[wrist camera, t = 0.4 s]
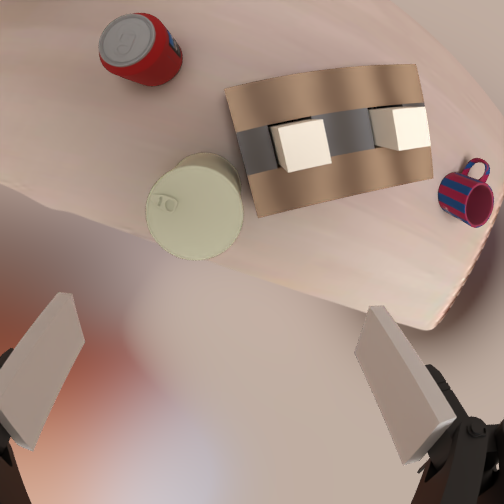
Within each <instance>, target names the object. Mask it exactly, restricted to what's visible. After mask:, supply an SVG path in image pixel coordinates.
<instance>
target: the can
mask: <svg viewBox="0 0 504 504" xmlns="http://www.w3.org/2000/svg"><path fill="white" fill-rule="evenodd" d="M243 216H244V213H243V204H242V200H241V181H240V178H239V175H238V173H237V171H236V169H235V168H234V166H233V165H232V164H231V163H230V162H229V161H228V160H226V159H225V158H223V157H221V156H219V155H216V154H213V153H197V154H193V155H191V156H188V157H186V158H185V159H183V160H182V161H181V162H180V163H179V164H178V165H177V166H176V167H175V168H174V169H173V170H171V171H169V172H167V173H166V174H165V175H163V176H162V177H161V178H160V179H159V180H158V181H157V182H156V183H155V184H154V186H153V187H152V189H151V191H150V193H149V196H148V199H147V202H146V221H147V225H148V228H149V231H150V233H151V235H152V236H153V238H154V239H155V241H156V242H157V243H158V244H159V245H160V246H161V247H162V248H163V249H164V250H165V251H167V252H168V253H170V254H172V255H174V256H176V257H179V258H182V259H187V260H205V259H209V258H212V257H215V256H217V255H219V254H221V253H222V252H224V251H225V250H227V249H228V248H229V247H230V246H231V245H232V244H233V243H234V241H235V240H236V238H237V237H238V235H239V233H240V230H241V227H242V223H243Z"/></svg>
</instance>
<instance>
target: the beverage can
mask: <svg viewBox="0 0 504 504" xmlns="http://www.w3.org/2000/svg"><path fill="white" fill-rule="evenodd" d="M99 56H100V60H101V62H102V64H103V66H104V67H105V68H106V69H107V70H108V71H109V72H111V73H113V74H115V75H118V76H120V77H123V78H126V79H128V80H131V81H134V82H137V83H140V84H143V85H146V86H157V85H161V84H164V83H166V82H168V81H169V80H171V79H172V78H173V77H174V76H175V75H176V74H177V72H178V71H179V69H180V67H181V64H182V51H181V49H180V47H179V45H178V44H177V42H176V41H175V39H174V38H173V37H172V35H171V34H170V33H169V31H168V30H167V29H166V27H165V26H164V25H163V24H162V23H161V21H160V20H159V19H157V18H156V17H155V16H153V15H150V14H146V13H133V14H127V15H124V16H121V17H119V18H117V19H115V20H114V21H112V22H111V23H110V24H109V25H108V26H107V27H106V28H105V30H104V31H103V33H102V35H101V37H100V40H99Z"/></svg>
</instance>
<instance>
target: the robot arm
mask: <svg viewBox="0 0 504 504" xmlns="http://www.w3.org/2000/svg"><path fill="white" fill-rule="evenodd" d="M84 343H85V340H84V337H83V333H82V330H81V326H80V323H79V319H78V316H77V312H76V308H75V304H74V300H73V295H72V294H70V293H62V292H58V293H57V295H56V296H55V297H54V298H53V299H52V301H51V302H50V303H49V304H48V306H47V307H46V308H45V309H44V311H43V312H42V313H41V314H40V316H39V317H38V318H37V319H36V321H35V322H34V323H33V325H32V326H31V327H30V328H29V330H28V331H27V332H26V334H25V335H24V336H23V338H22V339H21V341H20V342H19V343H18V345H17V346H16V347H15V349H13V348H10V349H9V350H7V351H6V352H5V353H4V354H2V356H1V357H0V504H31V502H30V499H29V497H28V494H27V492H26V489H25V486H24V484H23V481H22V478H21V476H20V473H19V470H18V467H17V464H16V460H15V457H14V454H13V451H12V448H11V445H10V444H9V439H10V437H12V439H13V440H14V441H15V442H16V443H17V445H19V446H21V447H23V448H26V449H28V450H31V451H34V448H35V446H36V443H37V441H38V438H39V436H40V433H41V431H42V429H43V426H44V424H45V422H46V420H47V417H48V415H49V413H50V410H51V408H52V406H53V404H54V402H55V400H56V397H57V396H58V394H59V391H60V389H61V387H62V385H63V383H64V381H65V379H66V377H67V375H68V373H69V371H70V369H71V367H72V365H73V363H74V362H75V360H76V358H77V356H78V354H79V352H80V350H81V348H82V346H83V344H84ZM354 353H355V355H356V358H357V360H358V362H359V364H360V366H361V368H362V371H363V373H364V375H365V377H366V379H367V382H368V384H369V386H370V388H371V391H372V393H373V395H374V397H375V400H376V402H377V404H378V407H379V409H380V411H381V413H382V416H383V418H384V420H385V423H386V425H387V428H388V430H389V432H390V435H391V437H392V439H393V442H394V444H395V447H396V449H397V452H398V454H399V457H400V459H401V461H402V464H403V465H407V464H410V463H413V462H416V461H420V460H421V459H422V457H423V456H424V455H425V454H426V453H427V452H428V455H429V457H430V458H429V460H428V461H427V462H426V463H425V464H424V465H423V466H422V467H421V468H420V469H419V470H418V472H417V473H420V472H421V471H422V470H423V469H424V468H425V469H424V471H423V474H422V477H421V480H420V483H419V485H418V488H417V490H416V493H415V495H414V498H413V500H412V502H411V504H504V419H503V421H502V422H501V423H500V424H495V425H486V424H485V423H484V422H483V421H482V420H481V419H479V418H477V417H469V416H468V415H467V413H466V412H465V410H464V409H463V407H462V405H461V404H460V402H459V401H458V399H457V397H456V396H455V394H454V393H453V391H452V390H450V386H449V385H448V383H446V380H445V379H444V377H443V376H442V374H441V373H440V372H439V371H438V370H437V369H436V368H435V367H433V366H432V365H430V364H429V365H424V363H423V362H422V360H421V359H420V357H419V356H418V354H417V353H416V351H415V350H414V348H413V347H412V345H411V344H410V342H409V341H408V339H407V338H406V336H405V335H404V334H403V332H402V331H401V329H400V328H399V326H398V325H397V323H396V322H395V321H394V319H393V318H392V316H391V315H390V313H389V312H388V311H387V309H386V308H385V307H384V306H369V309H368V312H367V316H366V319H365V322H364V325H363V328H362V331H361V334H360V337H359V340H358V343H357V346H356V349H355V352H354ZM498 463H499V470H497V469H496V465H497V464H498Z"/></svg>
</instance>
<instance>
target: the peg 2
mask: <svg viewBox="0 0 504 504" xmlns="http://www.w3.org/2000/svg"><path fill="white" fill-rule="evenodd" d="M368 114H369V119H370V125H371V130H372V136H373V142H374V145H376V146H381V147H385V148H389V149H393V150H397V151H401V150H407V149H414V148H421V147H427V146H431V143H430V135H429V128H428V121H427V115H426V109H425V107H387V108H378V109H369V110H368Z"/></svg>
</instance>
